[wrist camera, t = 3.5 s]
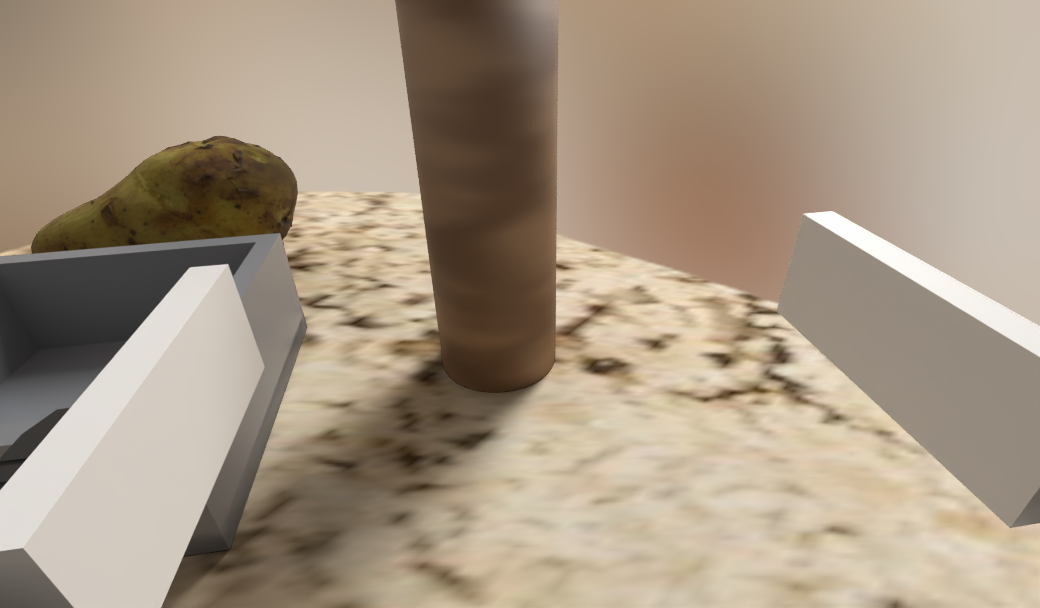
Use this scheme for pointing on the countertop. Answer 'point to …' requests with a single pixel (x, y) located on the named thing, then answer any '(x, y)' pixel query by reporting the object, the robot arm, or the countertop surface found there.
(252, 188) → the potato
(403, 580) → the countertop surface
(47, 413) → the tub
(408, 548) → the countertop surface
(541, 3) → the pepper mill
